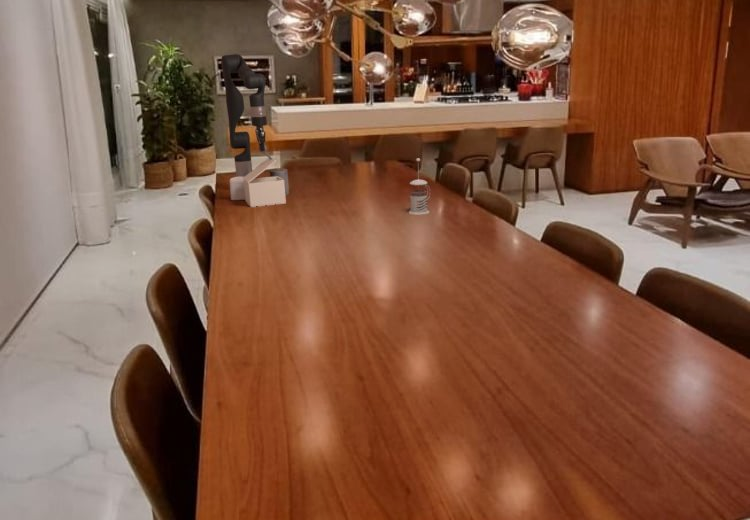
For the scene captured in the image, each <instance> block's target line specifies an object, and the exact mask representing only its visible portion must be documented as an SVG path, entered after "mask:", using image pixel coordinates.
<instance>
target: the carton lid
mask: <svg viewBox="0 0 750 520" xmlns="http://www.w3.org/2000/svg"><path fill="white" fill-rule="evenodd" d="M264 146H265V151H260V146H259V145H258V152H260V153H264V154H265V156H266V157H267V158H266V159H264V160H263V161H262V162H261V163H260V164H259V165H257V166H256V167H255V168H254V169H252V171H251V172H250V173H249V174H247V175H246V176H245V177H244V178H243V179H244V180H245V181H246V182H247V183H249V182H251V181H252V180H253V179H254V178H258V176H260V175H261V174H262V173H263V172H264V171H266V170H267V169H268V168H270V166H272V165H273V164H275V163H276V162H277V159H275V158H273V157H271V155H270V154H269V152H267V150H268V147H267V145H266V144H264Z"/></svg>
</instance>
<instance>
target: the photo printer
mask: <svg viewBox="0 0 750 520" xmlns="http://www.w3.org/2000/svg"><path fill="white" fill-rule="evenodd" d="M243 178H244V177H242V176H239V177H236V176H234V177H231V178H230V179H229V193H230V200H231V201H243V200H245V201H246V198H245V188H244V179H243Z"/></svg>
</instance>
